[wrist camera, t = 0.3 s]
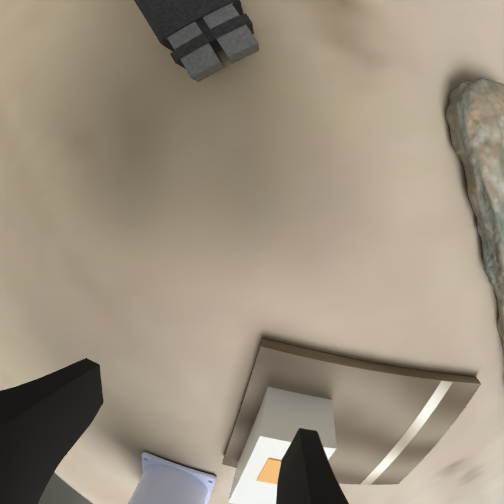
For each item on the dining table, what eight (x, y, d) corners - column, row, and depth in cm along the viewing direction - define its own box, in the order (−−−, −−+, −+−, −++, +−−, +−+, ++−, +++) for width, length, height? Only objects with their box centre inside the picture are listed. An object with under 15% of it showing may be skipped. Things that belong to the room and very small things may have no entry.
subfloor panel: (396, 477, 21) (398, 484, 20) (224, 456, 22) (222, 464, 21) (476, 376, 17) (481, 384, 16) (262, 338, 19) (260, 346, 18)
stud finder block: (287, 472, 21) (283, 513, 16) (237, 462, 21) (227, 503, 17) (332, 399, 18) (336, 450, 14) (268, 386, 18) (259, 436, 14)
